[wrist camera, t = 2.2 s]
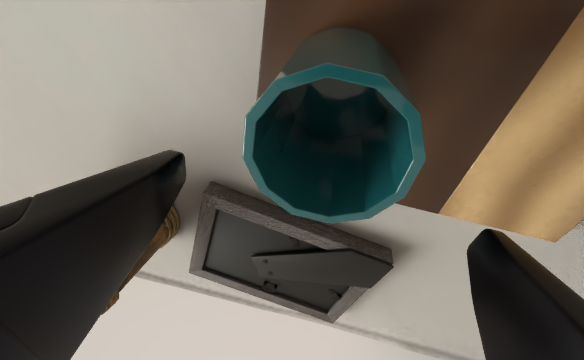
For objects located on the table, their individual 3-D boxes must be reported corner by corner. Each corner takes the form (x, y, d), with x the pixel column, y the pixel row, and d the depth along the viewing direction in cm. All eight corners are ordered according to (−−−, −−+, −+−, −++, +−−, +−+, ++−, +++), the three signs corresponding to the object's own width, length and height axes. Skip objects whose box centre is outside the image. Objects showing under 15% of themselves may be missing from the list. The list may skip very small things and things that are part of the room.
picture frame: (391, 249, 26) (210, 181, 25) (393, 267, 25) (201, 195, 24) (333, 310, 34) (194, 261, 33) (332, 327, 33) (186, 275, 32)
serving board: (783, 17, 13) (818, 20, 12) (547, 231, 22) (555, 242, 21) (280, -89, 14) (274, -94, 13) (254, 160, 23) (250, 168, 22)
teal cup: (417, 42, 15) (464, 94, 9) (373, 150, 19) (382, 237, 13) (292, 14, 15) (249, 44, 9) (276, 127, 19) (238, 201, 13)
